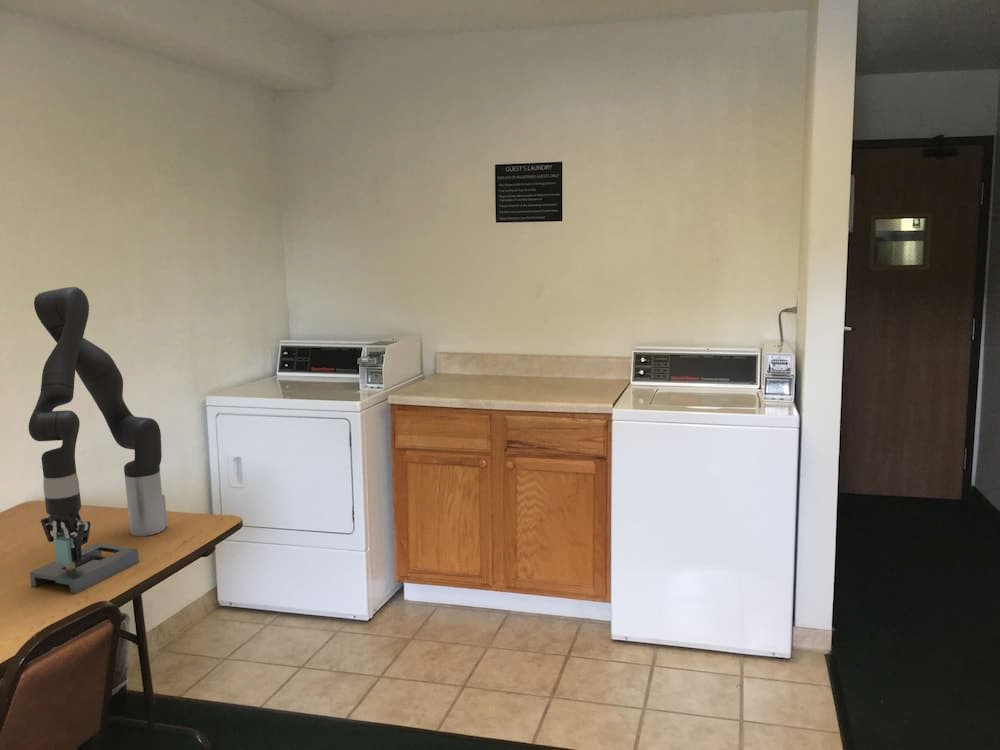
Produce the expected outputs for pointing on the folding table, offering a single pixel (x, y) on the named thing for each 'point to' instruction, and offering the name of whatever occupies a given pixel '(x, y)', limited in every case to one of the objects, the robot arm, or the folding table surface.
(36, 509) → the folding table surface
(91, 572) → the keyhole plate
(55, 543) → the teal stud
